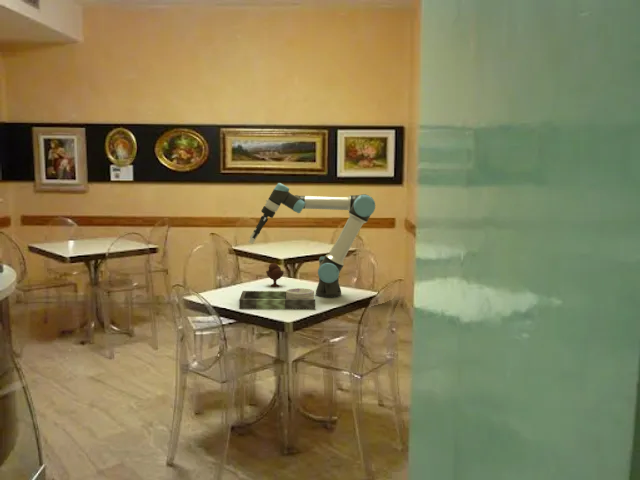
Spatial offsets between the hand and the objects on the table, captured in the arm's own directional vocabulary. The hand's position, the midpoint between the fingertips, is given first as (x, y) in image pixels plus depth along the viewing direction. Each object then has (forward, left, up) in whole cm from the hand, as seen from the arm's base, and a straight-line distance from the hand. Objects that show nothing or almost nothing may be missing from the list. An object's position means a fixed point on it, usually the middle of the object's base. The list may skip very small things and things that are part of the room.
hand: (251, 240), depth 325 cm
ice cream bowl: (-21, -30, -33) cm, 49 cm away
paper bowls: (-23, +23, -33) cm, 46 cm away
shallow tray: (-11, +19, -33) cm, 40 cm away
